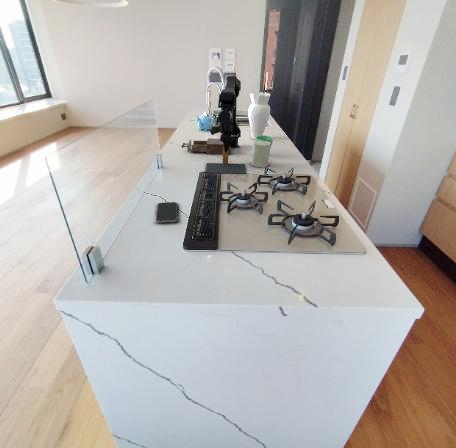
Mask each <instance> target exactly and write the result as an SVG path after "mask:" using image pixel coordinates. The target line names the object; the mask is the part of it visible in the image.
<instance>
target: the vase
mask: <svg viewBox="0 0 456 448" xmlns="http://www.w3.org/2000/svg"><path fill="white" fill-rule="evenodd" d="M249 97H250V100H251V103H250V105H249V106H248V111H247V115H248V116H247V117H248V122H249V128H250V132H251V133H250V134H251V135H250V139H251V140H253V141H256V137H258V136H263V135H264V132H265V130H266V127H267V124H268V121H269V120H270V115H271V107H270V105H269V100H270V97H271V93H269V92H266V93H264V92H261V91H260V92H256V91H254V92H251V93H250V94H249Z"/></svg>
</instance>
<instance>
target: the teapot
mask: <svg viewBox="0 0 456 448" xmlns="http://www.w3.org/2000/svg"><path fill="white" fill-rule="evenodd" d="M195 117H196V123H197V127H198V129H199V131H203V130H204V132H208V131H210V127H212V126H214V124H215V123H214V122H215V121H214V120H215V117H213V114H211V115H209V117H208V116H207V115H204V116H203V117H200V118H199V116H198V115H195ZM212 117H213V118H212Z"/></svg>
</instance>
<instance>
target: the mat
mask: <svg viewBox="0 0 456 448" xmlns="http://www.w3.org/2000/svg"><path fill="white" fill-rule="evenodd" d="M205 174H223V175H224V174H225V175H227V174H228V175H229V174H231V175H237V174H238V175H247V174H246V166H245V163H228V164H223V162H207V163H206V168H205Z"/></svg>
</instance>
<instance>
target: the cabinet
mask: <svg viewBox="0 0 456 448" xmlns="http://www.w3.org/2000/svg"><path fill="white" fill-rule="evenodd" d="M206 141H207V152H206V155H217V156H220V155H221V156H223V142H222V141H220V138H210V137H209V138H207V139H206ZM230 153H231V148H230V146H229V156H230V155H231V154H230Z"/></svg>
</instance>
